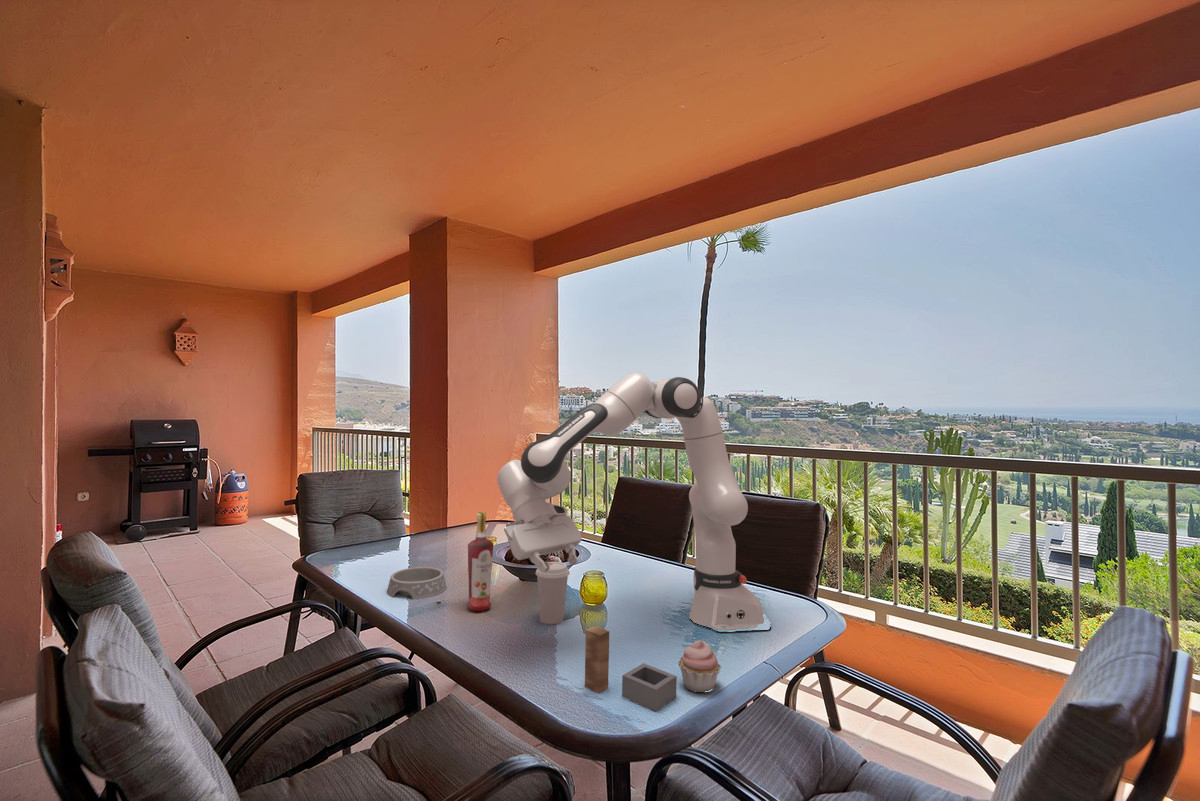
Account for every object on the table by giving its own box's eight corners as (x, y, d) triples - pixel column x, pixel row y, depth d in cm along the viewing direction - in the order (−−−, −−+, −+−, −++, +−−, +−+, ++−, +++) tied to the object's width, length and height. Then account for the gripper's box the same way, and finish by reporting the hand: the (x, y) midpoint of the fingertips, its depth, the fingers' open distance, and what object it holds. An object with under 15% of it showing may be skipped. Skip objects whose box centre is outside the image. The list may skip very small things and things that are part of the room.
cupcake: (676, 695, 112) (677, 647, 112) (677, 674, 121) (678, 629, 122) (722, 700, 111) (723, 651, 111) (720, 678, 120) (720, 632, 120)
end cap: (621, 696, 111) (622, 675, 111) (643, 683, 117) (643, 663, 117) (655, 711, 106) (656, 689, 106) (676, 697, 112) (676, 676, 112)
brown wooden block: (584, 686, 115) (585, 629, 115) (593, 681, 117) (595, 625, 117) (598, 693, 112) (600, 635, 113) (608, 688, 115) (609, 631, 115)
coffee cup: (551, 610, 158) (552, 559, 158) (575, 619, 152) (576, 565, 152) (527, 620, 151) (528, 565, 151) (551, 629, 145) (553, 573, 145)
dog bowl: (430, 602, 164) (430, 584, 164) (375, 597, 167) (375, 579, 167) (455, 584, 181) (455, 568, 181) (404, 580, 184) (405, 564, 184)
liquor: (472, 615, 153) (474, 516, 153) (462, 607, 159) (464, 512, 159) (496, 610, 157) (498, 513, 158) (485, 603, 163) (487, 509, 164)
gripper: (508, 515, 125) (534, 567, 118) (569, 506, 140) (596, 552, 134) (494, 531, 128) (520, 583, 121) (557, 521, 143) (582, 566, 136)
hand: (560, 566), depth 127 cm, fingers open, 8 cm apart
